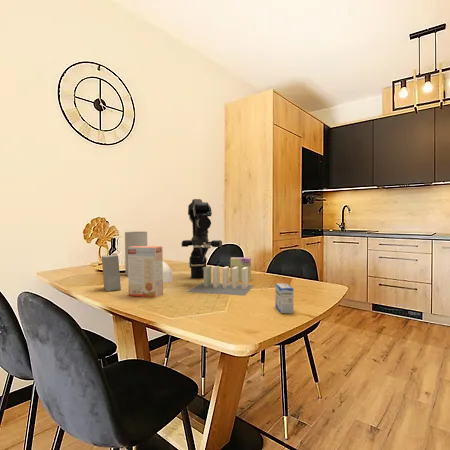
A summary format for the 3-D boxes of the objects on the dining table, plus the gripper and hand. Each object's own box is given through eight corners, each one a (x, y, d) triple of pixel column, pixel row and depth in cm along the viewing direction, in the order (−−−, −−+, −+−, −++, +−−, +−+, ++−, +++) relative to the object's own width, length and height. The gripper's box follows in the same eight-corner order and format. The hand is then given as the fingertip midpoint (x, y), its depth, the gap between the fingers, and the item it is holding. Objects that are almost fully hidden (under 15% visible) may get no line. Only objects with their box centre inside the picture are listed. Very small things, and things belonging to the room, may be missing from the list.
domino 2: (213, 287, 140) (212, 267, 140) (216, 284, 146) (216, 266, 146) (216, 287, 140) (215, 268, 140) (220, 284, 146) (219, 266, 146)
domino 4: (232, 288, 138) (231, 268, 138) (235, 285, 144) (235, 266, 144) (235, 288, 138) (235, 268, 137) (238, 285, 143) (238, 266, 143)
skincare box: (121, 290, 139) (120, 255, 139) (104, 292, 136) (103, 256, 135) (117, 286, 147) (117, 253, 146) (101, 288, 143) (101, 254, 143)
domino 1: (204, 286, 142) (203, 267, 141) (208, 284, 147) (208, 265, 147) (207, 287, 141) (207, 267, 141) (211, 284, 147) (211, 265, 147)
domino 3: (222, 287, 139) (222, 268, 139) (226, 285, 145) (225, 266, 145) (226, 288, 139) (225, 268, 139) (229, 285, 144) (229, 266, 144)
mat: (186, 293, 132) (186, 291, 132) (202, 283, 151) (202, 282, 151) (245, 296, 125) (245, 295, 125) (253, 286, 144) (253, 285, 144)
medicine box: (275, 307, 110) (274, 283, 110) (287, 306, 110) (287, 282, 110) (280, 314, 102) (280, 288, 102) (294, 313, 102) (293, 287, 102)
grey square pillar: (144, 276, 172) (143, 232, 171) (122, 276, 172) (121, 232, 172) (150, 272, 184) (149, 231, 184) (129, 272, 185) (128, 231, 184)
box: (250, 279, 161) (250, 257, 160) (250, 281, 155) (250, 258, 155) (231, 279, 162) (231, 257, 162) (230, 281, 156) (230, 258, 156)
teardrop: (153, 284, 152) (153, 260, 152) (149, 280, 162) (149, 257, 162) (175, 281, 157) (174, 258, 156) (169, 278, 167) (169, 256, 167)
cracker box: (163, 295, 128) (163, 246, 128) (154, 299, 123) (154, 247, 122) (137, 292, 134) (137, 245, 134) (128, 295, 129) (127, 246, 128)
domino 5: (241, 288, 137) (241, 268, 137) (244, 286, 143) (244, 266, 142) (245, 289, 136) (245, 269, 136) (248, 286, 142) (247, 267, 142)
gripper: (176, 229, 139) (177, 263, 139) (215, 229, 134) (216, 264, 135) (185, 228, 150) (186, 260, 150) (222, 228, 145) (222, 261, 146)
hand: (202, 261), depth 145 cm, fingers closed
